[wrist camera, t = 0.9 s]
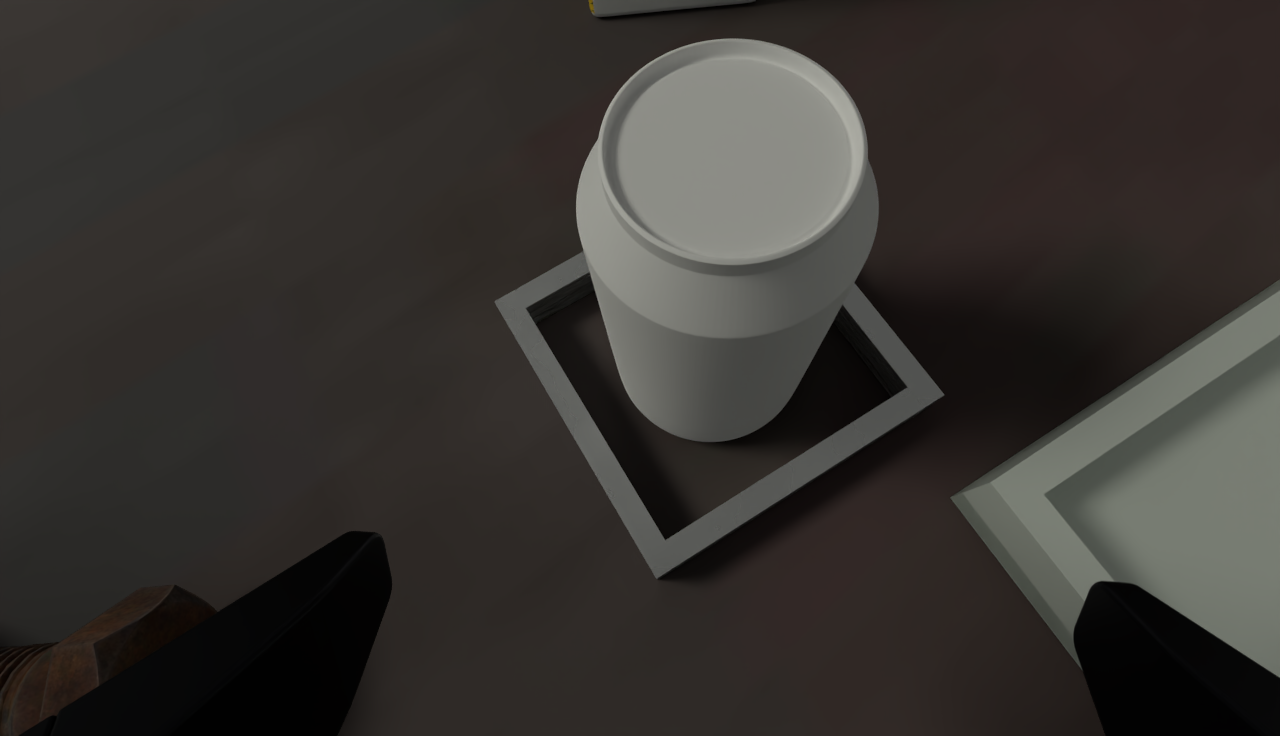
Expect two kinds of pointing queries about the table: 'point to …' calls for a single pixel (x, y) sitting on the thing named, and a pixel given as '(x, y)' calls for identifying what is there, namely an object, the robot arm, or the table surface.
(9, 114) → the table surface
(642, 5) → the medicine bottle
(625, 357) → the beverage can
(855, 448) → the grey square frame
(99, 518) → the table surface
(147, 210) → the table surface
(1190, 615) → the tray
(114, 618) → the bolt
